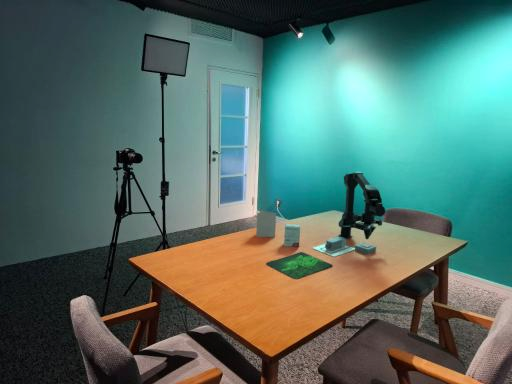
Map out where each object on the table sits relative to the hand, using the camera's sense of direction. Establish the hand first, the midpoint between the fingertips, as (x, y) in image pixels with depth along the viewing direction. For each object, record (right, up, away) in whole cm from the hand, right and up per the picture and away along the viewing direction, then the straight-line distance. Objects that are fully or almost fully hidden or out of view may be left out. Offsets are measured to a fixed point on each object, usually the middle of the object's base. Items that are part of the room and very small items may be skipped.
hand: (366, 239), depth 189 cm
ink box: (-41, -5, +7) cm, 42 cm away
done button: (0, -7, +2) cm, 7 cm away
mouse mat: (-40, -10, -21) cm, 46 cm away
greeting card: (-56, -1, +20) cm, 59 cm away
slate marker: (-17, -6, +3) cm, 18 cm away
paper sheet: (-17, -6, +3) cm, 18 cm away
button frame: (0, -7, +2) cm, 7 cm away
